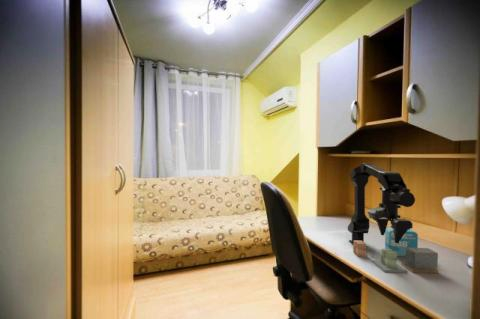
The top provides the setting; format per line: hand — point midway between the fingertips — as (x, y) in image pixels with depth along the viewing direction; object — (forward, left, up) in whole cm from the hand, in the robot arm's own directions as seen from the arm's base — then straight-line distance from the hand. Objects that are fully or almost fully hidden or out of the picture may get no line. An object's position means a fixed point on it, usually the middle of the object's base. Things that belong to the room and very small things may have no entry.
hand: (389, 238), depth 95 cm
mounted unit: (+1, +12, -12) cm, 17 cm away
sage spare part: (0, 0, -11) cm, 11 cm away
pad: (0, 0, -12) cm, 12 cm away
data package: (-13, +14, -12) cm, 23 cm away
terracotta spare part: (-12, -6, -12) cm, 18 cm away
